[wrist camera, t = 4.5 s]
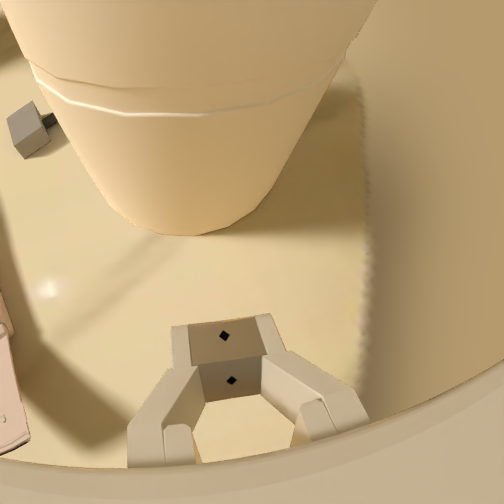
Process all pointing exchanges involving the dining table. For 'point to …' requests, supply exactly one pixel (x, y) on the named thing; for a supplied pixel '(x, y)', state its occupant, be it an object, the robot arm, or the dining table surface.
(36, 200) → the dining table surface
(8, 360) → the mobile phone
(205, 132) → the canister
